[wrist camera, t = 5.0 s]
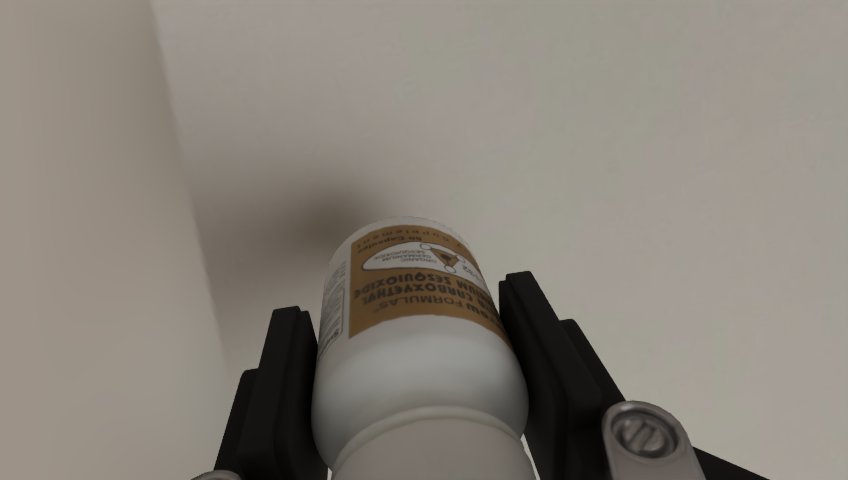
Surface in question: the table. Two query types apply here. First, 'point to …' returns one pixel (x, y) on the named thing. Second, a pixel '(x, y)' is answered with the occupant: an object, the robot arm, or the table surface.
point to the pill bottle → (415, 362)
